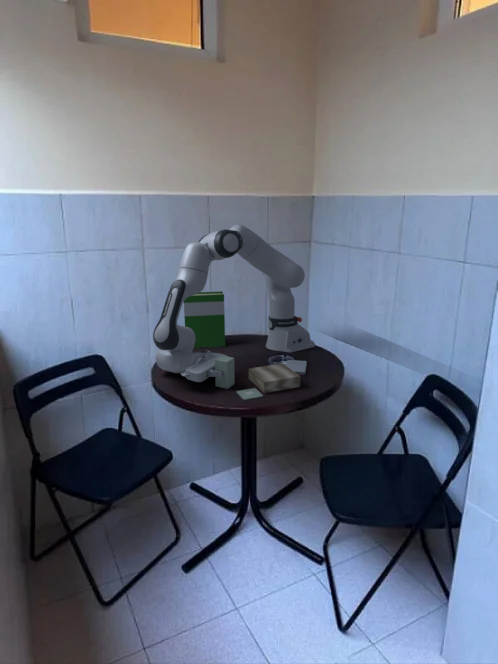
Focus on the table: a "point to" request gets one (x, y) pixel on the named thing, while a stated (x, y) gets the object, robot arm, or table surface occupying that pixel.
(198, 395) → the table surface
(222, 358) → the sage block
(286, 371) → the birch base block
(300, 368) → the external hard drive
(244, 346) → the table surface
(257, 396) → the tile
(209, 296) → the hardback book
